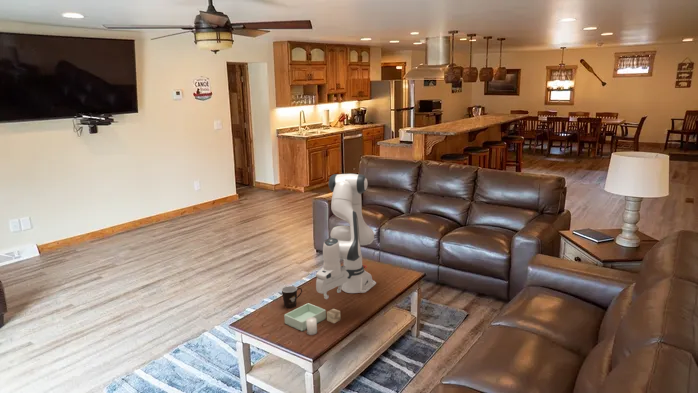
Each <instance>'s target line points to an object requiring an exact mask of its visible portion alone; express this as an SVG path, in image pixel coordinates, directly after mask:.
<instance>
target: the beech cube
mask: <svg viewBox="0 0 698 393" xmlns="http://www.w3.org/2000/svg"><path fill="white" fill-rule="evenodd" d="M326 321H327V322H330V323H332V324H336V323H337V322H340V321H341V310H339V309H335V308H332V309H330V310H328V311H326Z"/></svg>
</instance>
